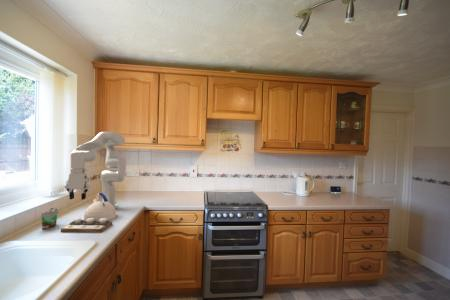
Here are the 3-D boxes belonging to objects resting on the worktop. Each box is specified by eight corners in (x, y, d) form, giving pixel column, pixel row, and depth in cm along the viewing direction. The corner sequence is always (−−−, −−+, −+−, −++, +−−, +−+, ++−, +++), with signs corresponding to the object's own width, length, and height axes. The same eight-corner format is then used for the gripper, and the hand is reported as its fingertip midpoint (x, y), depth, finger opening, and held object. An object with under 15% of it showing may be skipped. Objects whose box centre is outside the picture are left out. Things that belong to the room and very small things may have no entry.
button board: (75, 223, 141) (75, 219, 141) (112, 224, 142) (112, 219, 142) (60, 231, 128) (60, 226, 128) (101, 232, 129) (101, 227, 129)
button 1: (76, 220, 139) (76, 217, 139) (82, 220, 139) (82, 217, 139) (72, 222, 135) (72, 219, 135) (78, 222, 135) (78, 219, 135)
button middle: (89, 220, 139) (89, 217, 139) (95, 220, 139) (95, 217, 139) (85, 222, 135) (85, 219, 135) (91, 222, 135) (91, 220, 135)
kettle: (108, 211, 169) (109, 188, 168) (121, 217, 156) (121, 192, 155) (78, 217, 153) (79, 192, 153) (89, 225, 140) (90, 197, 140)
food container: (53, 229, 132) (53, 213, 132) (41, 230, 130) (41, 213, 130) (61, 222, 144) (62, 207, 144) (50, 223, 142) (51, 208, 142)
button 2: (101, 220, 140) (101, 217, 140) (107, 220, 140) (107, 218, 140) (98, 222, 136) (98, 220, 136) (104, 222, 136) (104, 220, 136)
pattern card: (68, 225, 133) (68, 224, 133) (104, 225, 134) (104, 225, 134) (62, 228, 128) (62, 227, 128) (99, 229, 129) (99, 228, 129)
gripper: (95, 170, 140) (94, 197, 141) (68, 170, 140) (68, 197, 141) (88, 172, 133) (87, 200, 133) (59, 171, 133) (59, 200, 133)
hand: (77, 198), depth 137 cm, fingers open, 6 cm apart
